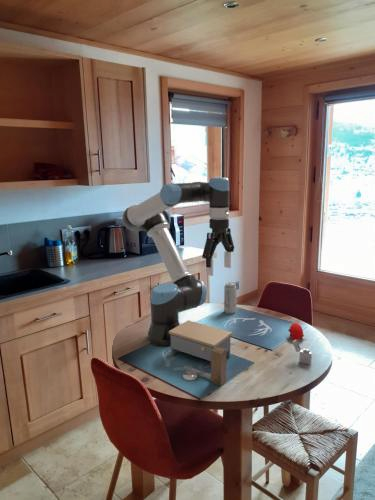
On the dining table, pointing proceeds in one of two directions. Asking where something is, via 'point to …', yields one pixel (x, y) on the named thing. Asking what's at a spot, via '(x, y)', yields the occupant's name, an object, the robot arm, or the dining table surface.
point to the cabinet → (199, 339)
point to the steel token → (190, 375)
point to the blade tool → (214, 367)
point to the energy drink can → (230, 298)
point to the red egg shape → (296, 331)
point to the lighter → (303, 353)
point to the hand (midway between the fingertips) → (218, 271)
